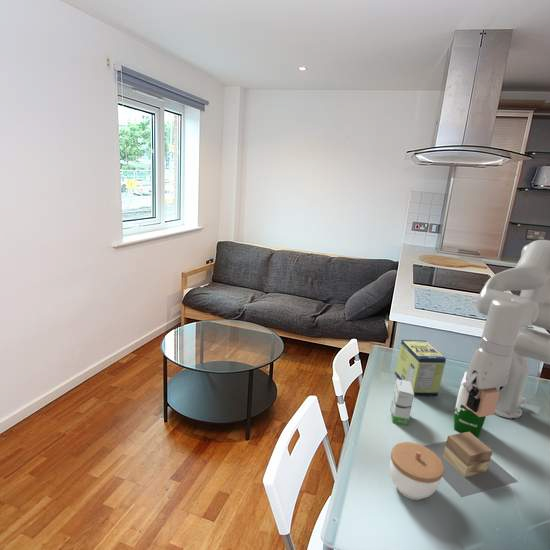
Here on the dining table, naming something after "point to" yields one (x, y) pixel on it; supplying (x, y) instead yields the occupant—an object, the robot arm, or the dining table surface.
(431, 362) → the protein box
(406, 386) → the ink box
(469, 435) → the walnut slab
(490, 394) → the terracotta block
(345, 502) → the dining table surface
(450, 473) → the rubber mat
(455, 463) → the oak slab
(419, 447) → the lidded bowl
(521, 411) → the robot arm
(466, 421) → the milk carton
